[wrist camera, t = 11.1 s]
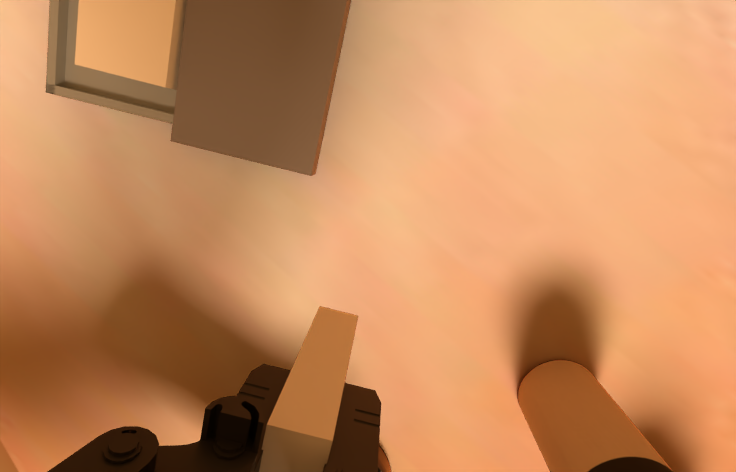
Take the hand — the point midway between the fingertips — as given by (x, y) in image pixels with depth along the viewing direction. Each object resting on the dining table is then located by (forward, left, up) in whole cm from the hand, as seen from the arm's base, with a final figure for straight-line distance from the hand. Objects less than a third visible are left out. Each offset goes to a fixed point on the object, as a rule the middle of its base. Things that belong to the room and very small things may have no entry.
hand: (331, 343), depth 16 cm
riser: (+11, +13, -24) cm, 30 cm away
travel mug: (-13, -23, -25) cm, 36 cm away
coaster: (+12, +24, -24) cm, 36 cm away
